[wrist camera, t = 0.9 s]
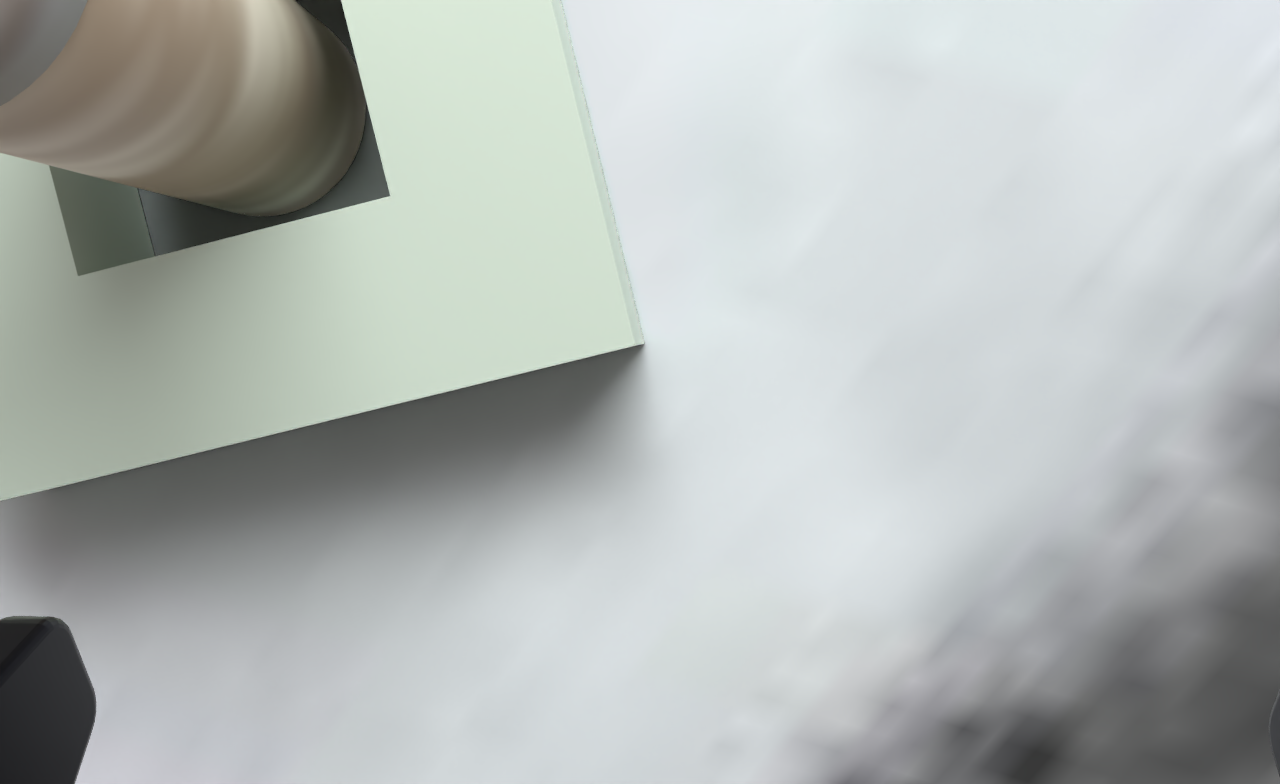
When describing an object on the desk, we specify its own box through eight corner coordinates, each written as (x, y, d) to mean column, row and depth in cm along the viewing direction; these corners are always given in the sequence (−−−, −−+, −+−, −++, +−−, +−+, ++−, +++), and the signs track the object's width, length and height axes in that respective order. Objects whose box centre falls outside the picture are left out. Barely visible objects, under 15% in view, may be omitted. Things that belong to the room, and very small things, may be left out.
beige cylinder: (304, 258, 22) (-89, 185, 11) (118, 153, 22) (-454, -22, 11) (406, 66, 22) (107, -204, 11) (217, -40, 22) (-268, -413, 11)
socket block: (644, 343, 22) (635, 345, 19) (44, 491, 23) (-57, 514, 20) (489, -293, 21) (454, -394, 18) (-118, -121, 22) (-246, -191, 19)
